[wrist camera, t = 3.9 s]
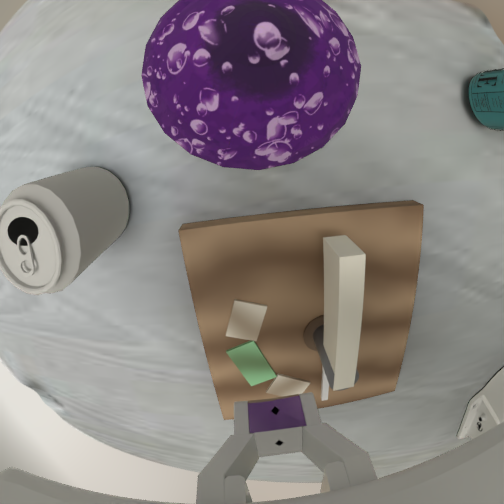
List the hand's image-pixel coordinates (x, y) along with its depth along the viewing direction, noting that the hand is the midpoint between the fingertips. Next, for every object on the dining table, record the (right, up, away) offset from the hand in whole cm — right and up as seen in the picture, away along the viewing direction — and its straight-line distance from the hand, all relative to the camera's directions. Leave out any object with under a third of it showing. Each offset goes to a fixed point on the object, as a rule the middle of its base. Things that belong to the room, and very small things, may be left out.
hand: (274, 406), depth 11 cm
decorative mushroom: (-1, +19, +12) cm, 23 cm away
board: (+6, -1, +20) cm, 21 cm away
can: (-15, +10, +15) cm, 24 cm away
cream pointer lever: (+6, -1, +18) cm, 19 cm away
